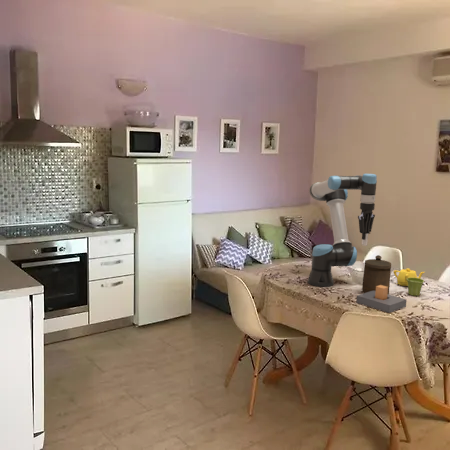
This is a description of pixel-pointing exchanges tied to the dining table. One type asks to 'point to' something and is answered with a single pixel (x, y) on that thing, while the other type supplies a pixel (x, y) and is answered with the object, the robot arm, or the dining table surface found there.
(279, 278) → the dining table surface
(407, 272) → the teapot
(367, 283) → the wooden container
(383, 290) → the orange plug
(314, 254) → the robot arm
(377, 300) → the socket board
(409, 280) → the plant pot
